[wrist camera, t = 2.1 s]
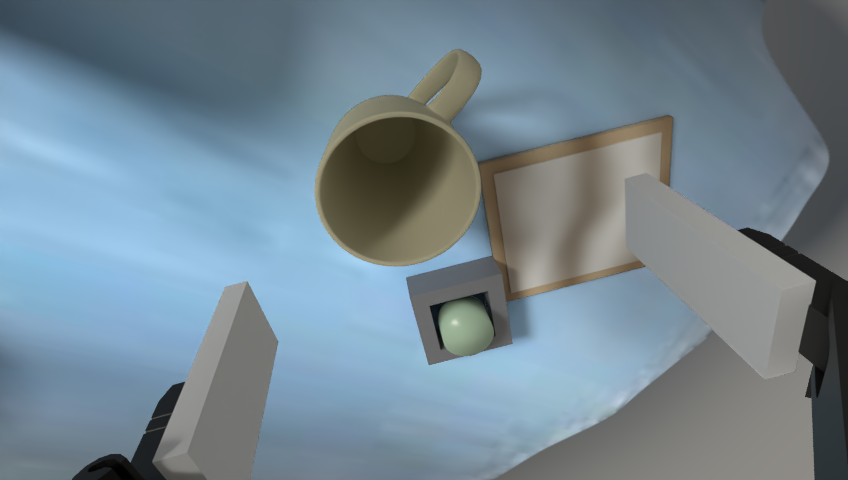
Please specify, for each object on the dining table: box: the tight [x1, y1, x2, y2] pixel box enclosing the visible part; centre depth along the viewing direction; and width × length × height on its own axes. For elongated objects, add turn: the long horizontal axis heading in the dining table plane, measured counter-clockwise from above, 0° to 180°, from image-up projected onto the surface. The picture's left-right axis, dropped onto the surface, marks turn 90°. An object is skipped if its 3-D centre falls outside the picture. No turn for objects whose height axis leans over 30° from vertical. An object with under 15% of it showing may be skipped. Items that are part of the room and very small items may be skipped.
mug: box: [315, 49, 482, 266], centre depth 30 cm, size 11×10×12 cm
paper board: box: [478, 115, 673, 302], centre depth 41 cm, size 16×14×1 cm
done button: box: [438, 296, 494, 356], centre depth 41 cm, size 4×4×3 cm
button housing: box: [406, 256, 513, 365], centre depth 43 cm, size 8×8×3 cm
